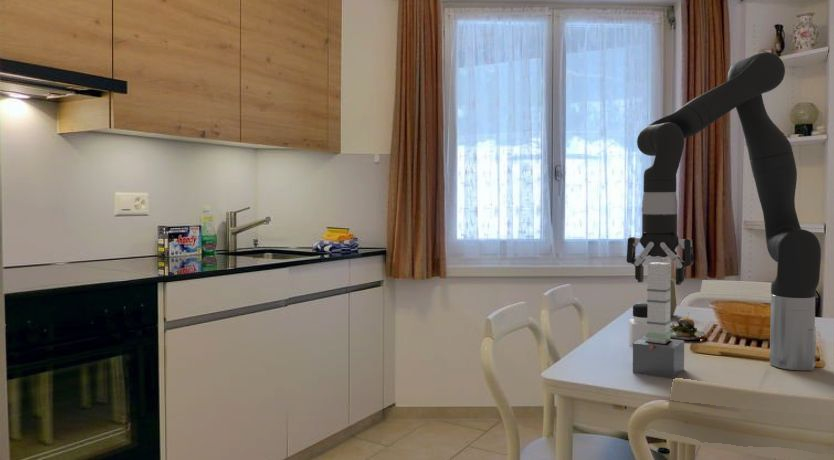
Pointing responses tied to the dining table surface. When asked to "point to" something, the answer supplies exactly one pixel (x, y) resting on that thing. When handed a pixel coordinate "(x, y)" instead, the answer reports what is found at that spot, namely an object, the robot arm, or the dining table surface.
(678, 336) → the burger
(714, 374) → the dining table surface
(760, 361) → the dining table surface
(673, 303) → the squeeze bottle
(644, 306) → the medicine bottle
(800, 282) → the robot arm
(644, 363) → the sleeve
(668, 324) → the column
